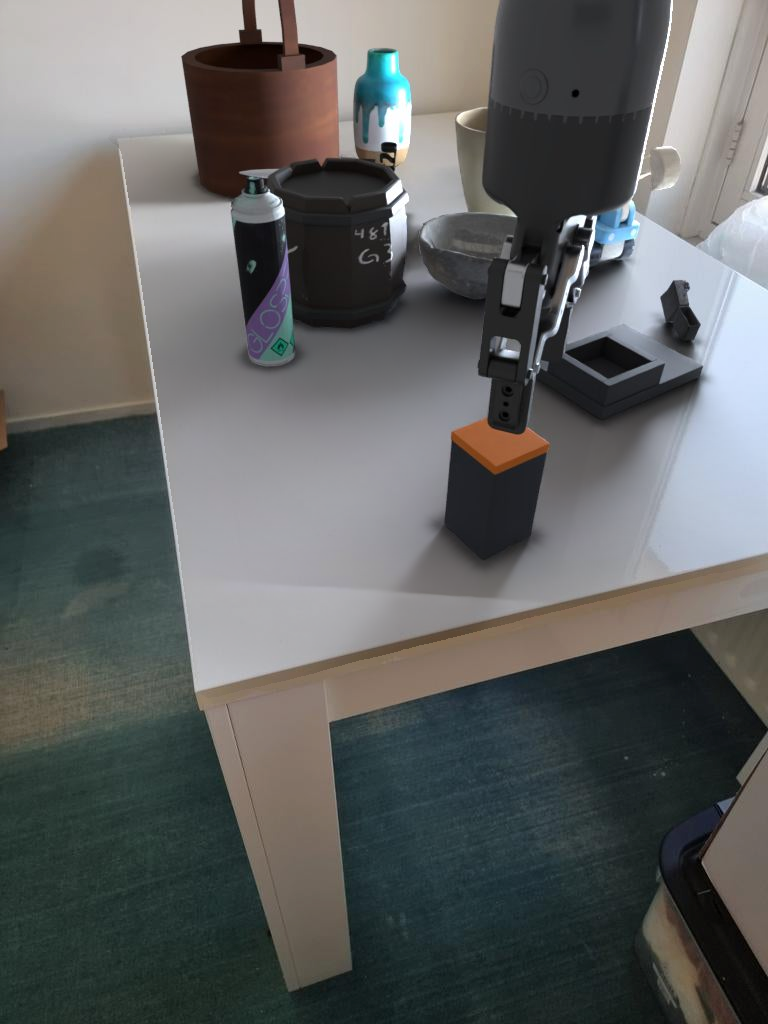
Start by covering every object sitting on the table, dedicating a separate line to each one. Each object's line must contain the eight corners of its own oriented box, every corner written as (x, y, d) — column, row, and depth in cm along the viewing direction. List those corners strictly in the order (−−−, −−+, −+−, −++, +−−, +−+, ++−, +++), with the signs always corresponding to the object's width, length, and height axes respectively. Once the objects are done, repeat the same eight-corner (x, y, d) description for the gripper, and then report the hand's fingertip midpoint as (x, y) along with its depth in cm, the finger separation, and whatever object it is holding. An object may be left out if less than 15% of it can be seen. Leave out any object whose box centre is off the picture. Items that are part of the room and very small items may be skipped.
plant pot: (469, 206, 125) (478, 101, 115) (554, 222, 120) (571, 114, 110) (432, 235, 115) (438, 123, 105) (522, 254, 110) (538, 138, 100)
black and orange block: (531, 536, 64) (550, 443, 58) (482, 561, 62) (496, 467, 55) (491, 501, 68) (503, 410, 61) (443, 523, 65) (451, 431, 59)
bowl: (548, 267, 107) (557, 211, 101) (547, 324, 94) (557, 262, 88) (424, 257, 109) (427, 202, 104) (407, 311, 96) (409, 251, 91)
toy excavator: (617, 291, 101) (648, 157, 90) (543, 248, 112) (562, 124, 101) (664, 279, 104) (700, 148, 93) (587, 238, 115) (610, 117, 104)
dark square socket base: (699, 377, 84) (710, 345, 82) (601, 420, 78) (609, 387, 75) (621, 334, 92) (628, 304, 89) (524, 370, 85) (529, 339, 83)
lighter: (687, 351, 94) (707, 330, 89) (672, 352, 93) (691, 331, 89) (674, 295, 96) (693, 272, 91) (659, 296, 96) (677, 273, 91)
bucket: (217, 208, 123) (181, -56, 100) (185, 163, 141) (149, -69, 118) (360, 189, 131) (358, -59, 108) (313, 149, 149) (302, -72, 126)
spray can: (255, 370, 85) (233, 188, 71) (243, 348, 88) (221, 172, 75) (301, 361, 86) (288, 182, 73) (288, 340, 90) (273, 166, 77)
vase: (367, 179, 135) (367, 58, 123) (345, 162, 143) (342, 47, 130) (419, 172, 139) (423, 54, 126) (394, 156, 146) (397, 43, 133)
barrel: (303, 264, 107) (296, 147, 96) (421, 284, 102) (426, 163, 92) (242, 317, 94) (226, 189, 84) (373, 343, 89) (373, 211, 79)
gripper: (627, 137, 28) (560, 474, 39) (677, 63, 37) (613, 349, 48) (439, 117, 30) (426, 440, 41) (532, 52, 40) (502, 327, 51)
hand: (527, 391), depth 45 cm, fingers open, 8 cm apart
